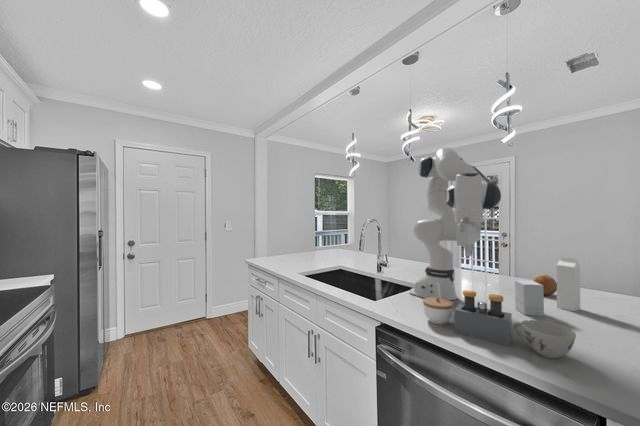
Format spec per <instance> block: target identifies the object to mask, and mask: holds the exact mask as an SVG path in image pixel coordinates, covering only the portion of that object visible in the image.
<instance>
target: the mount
mask: <svg viewBox="0 0 640 426" xmlns="http://www.w3.org/2000/svg"><path fill="white" fill-rule="evenodd" d="M512 315H513V313H510V312H505V311H502V318H500V317H496V316H491V315H490V309H489V308H487V313H481V312H478V306H475V312H471V311H466V310H465V308H464V303H459V304H458V305H457V306H456V308H454V333H457V334H462V335H465V336H469V337H472V338H477V339H481V340H485V341H488V342H493V343H496V344H499V345H503V346H508V347H510V344H511V341H512V339H513V333H512V332H513V331H512V330H513V329H512V327H513V326H512V325H513V323H512V322H513V320H512V318H513V316H512Z"/></svg>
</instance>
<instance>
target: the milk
mask: <svg viewBox="0 0 640 426" xmlns="http://www.w3.org/2000/svg"><path fill="white" fill-rule="evenodd" d="M556 283H557V291H556V307H557V308H558V309H562V310H566V311H570V312H577V311H579V310H581V265H580V264H579V263H578V259H577V258H571V257H563V256H560V257H559V261H558V262H557V263H556Z"/></svg>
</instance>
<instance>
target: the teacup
mask: <svg viewBox="0 0 640 426" xmlns="http://www.w3.org/2000/svg"><path fill="white" fill-rule="evenodd" d="M518 327H521V331H522V333H520V332H519V330H518V329H517V328H518ZM513 328H514V329H513V330H514V332H515V333H516V334H517V336H519V337H521V338H523V339H525V340H526V342H527V344H528V345H529V346H530V347H531V348H532V349H533V350H534V351H535V353H537V354H538V355H540V356H543V357H545V358H549V359H560V358H561V357H562V356H564V355H567V353H569V352H570V351H571V350H572V349H573V347H574V344H575V342H576V341H575V340H576V337H577V334H576V332H574V331H573V330H572V329H570V328H568V327H566V326H564V325H562V324H558V323H555V322H550V321H546V320H540V319H539V320H538V319H530V320H522V321H521V322H518V321H516V322H514V324H513Z"/></svg>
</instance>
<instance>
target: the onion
mask: <svg viewBox="0 0 640 426" xmlns="http://www.w3.org/2000/svg"><path fill="white" fill-rule="evenodd" d="M532 281H534V282H537V283H539V284H541V285H543V295H544V296H551V295H554V294H555V293H557V281H556V280H555V279H554V278H553V277H551V276H550V275H548V274H540V275H538V276H536V277H535V278H534V279H532Z"/></svg>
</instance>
